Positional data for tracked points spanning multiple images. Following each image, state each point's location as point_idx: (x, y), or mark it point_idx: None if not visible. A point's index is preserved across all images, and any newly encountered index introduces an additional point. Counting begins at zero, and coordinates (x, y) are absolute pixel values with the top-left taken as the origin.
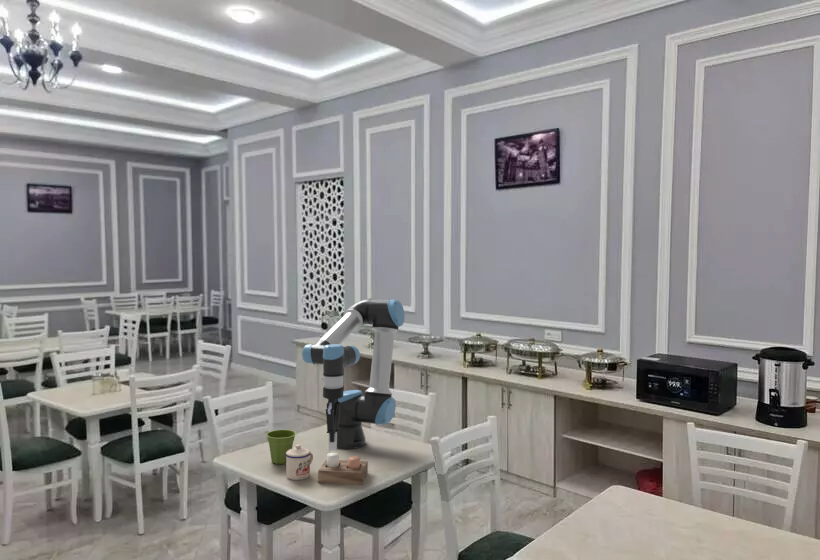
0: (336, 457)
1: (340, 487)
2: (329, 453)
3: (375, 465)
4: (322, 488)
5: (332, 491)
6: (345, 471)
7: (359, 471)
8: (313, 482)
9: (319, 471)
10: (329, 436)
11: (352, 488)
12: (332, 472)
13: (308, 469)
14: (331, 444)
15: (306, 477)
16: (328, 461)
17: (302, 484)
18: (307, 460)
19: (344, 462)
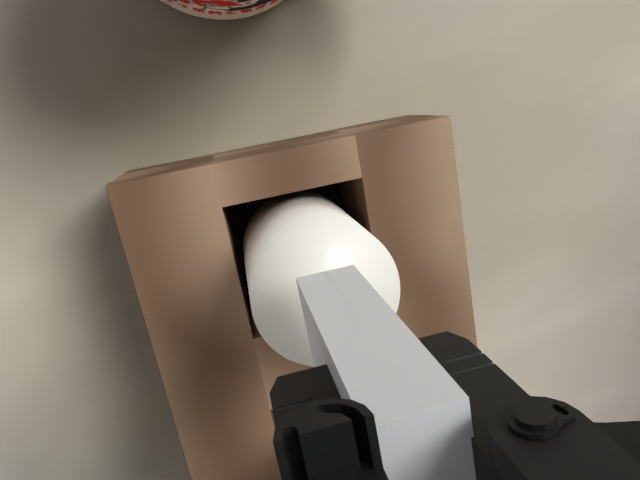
0: (287, 352)
1: (114, 381)
2: (353, 236)
3: (596, 416)
4: (32, 261)
5: (10, 363)
6: (190, 442)
7: None
8: (123, 124)
9: (110, 198)
10: (343, 392)
11: (133, 467)
12: (148, 327)
13: (216, 8)
14: (319, 354)
15: (187, 12)
16: (253, 251)
17: (36, 45)
18: None
19: (409, 328)
